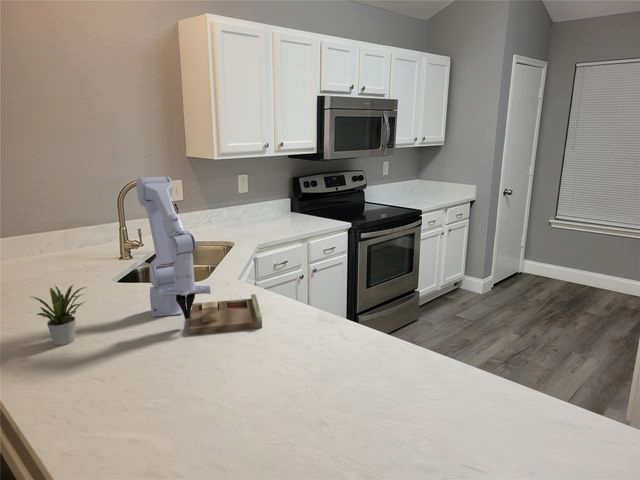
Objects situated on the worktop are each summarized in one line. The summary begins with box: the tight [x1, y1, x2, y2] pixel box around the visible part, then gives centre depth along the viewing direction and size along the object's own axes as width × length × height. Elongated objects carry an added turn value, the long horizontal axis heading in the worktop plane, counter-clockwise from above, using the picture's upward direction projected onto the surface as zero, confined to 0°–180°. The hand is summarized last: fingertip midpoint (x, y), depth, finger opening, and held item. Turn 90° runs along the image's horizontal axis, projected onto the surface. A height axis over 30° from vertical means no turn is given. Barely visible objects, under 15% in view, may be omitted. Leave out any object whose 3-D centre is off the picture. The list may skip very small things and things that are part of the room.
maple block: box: [201, 301, 218, 322], centre depth 138 cm, size 4×4×4 cm
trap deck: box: [188, 293, 263, 336], centre depth 143 cm, size 21×20×4 cm
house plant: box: [29, 284, 87, 346], centre depth 127 cm, size 14×14×16 cm
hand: (187, 317), depth 137 cm, fingers closed
